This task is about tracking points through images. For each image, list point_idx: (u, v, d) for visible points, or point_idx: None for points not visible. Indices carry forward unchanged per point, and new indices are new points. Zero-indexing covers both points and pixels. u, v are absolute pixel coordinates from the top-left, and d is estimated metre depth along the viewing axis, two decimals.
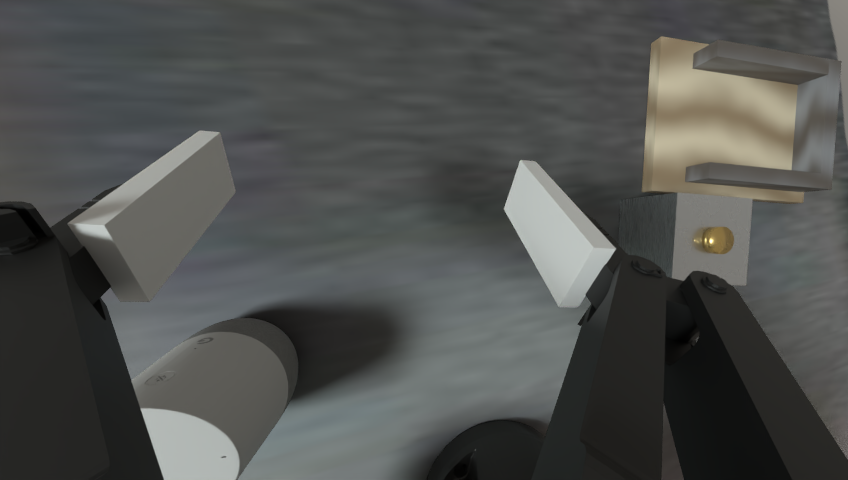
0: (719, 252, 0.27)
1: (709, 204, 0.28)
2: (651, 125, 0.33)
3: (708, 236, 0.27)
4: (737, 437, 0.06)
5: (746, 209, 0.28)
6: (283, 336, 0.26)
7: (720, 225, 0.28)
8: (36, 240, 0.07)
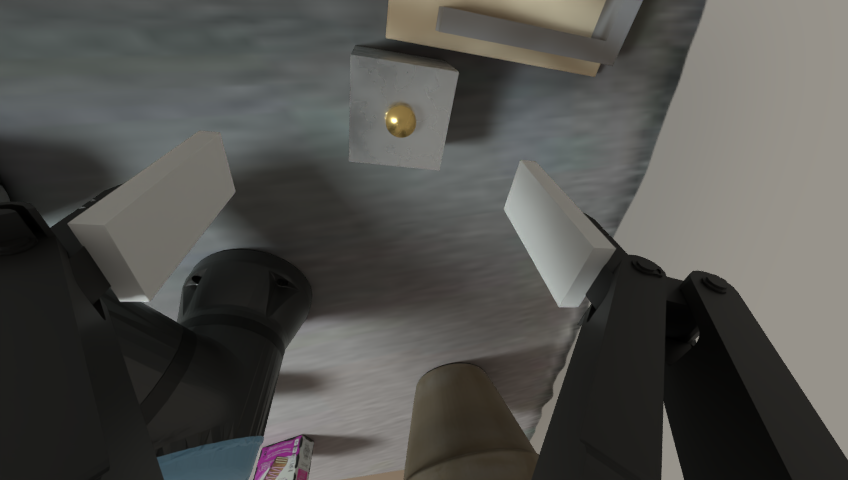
0: (396, 135, 0.25)
1: (397, 74, 0.23)
2: None
3: (386, 115, 0.24)
4: (737, 437, 0.06)
5: (448, 85, 0.24)
6: None
7: (410, 102, 0.24)
8: (36, 240, 0.07)
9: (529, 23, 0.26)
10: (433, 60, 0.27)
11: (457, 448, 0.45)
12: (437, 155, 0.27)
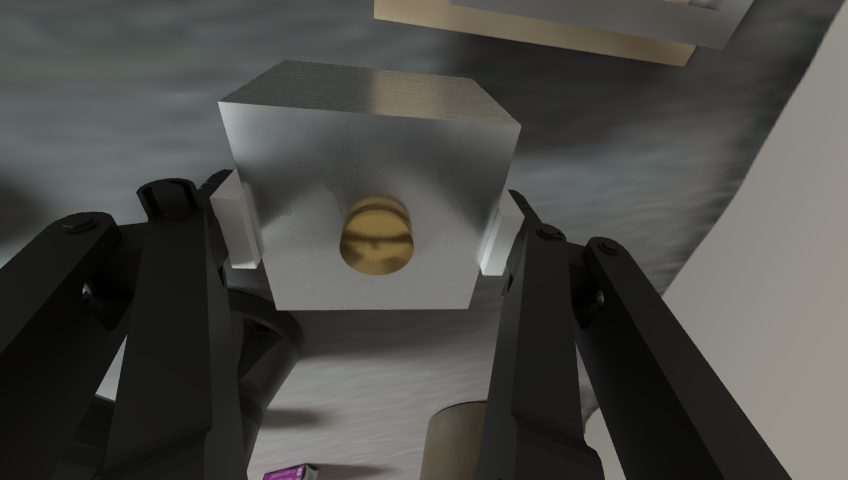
0: (369, 272, 0.11)
1: (358, 143, 0.09)
2: None
3: (341, 235, 0.10)
4: (646, 390, 0.07)
5: (493, 159, 0.09)
6: None
7: (399, 200, 0.10)
8: (191, 212, 0.08)
9: None
10: (450, 84, 0.12)
11: None
12: (464, 287, 0.13)
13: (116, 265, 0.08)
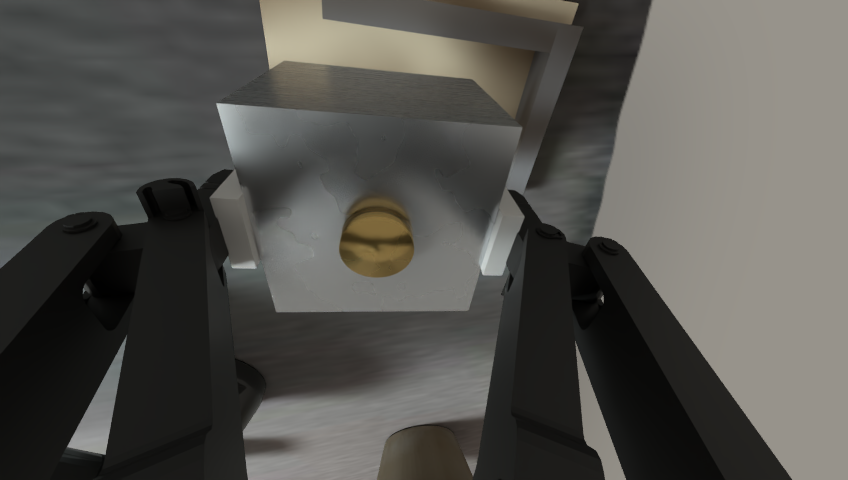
0: (369, 274, 0.11)
1: (358, 144, 0.09)
2: None
3: (341, 237, 0.10)
4: (646, 390, 0.07)
5: (494, 160, 0.09)
6: None
7: (399, 202, 0.10)
8: (191, 212, 0.08)
9: None
10: (451, 84, 0.12)
11: None
12: (464, 289, 0.13)
13: (116, 265, 0.08)
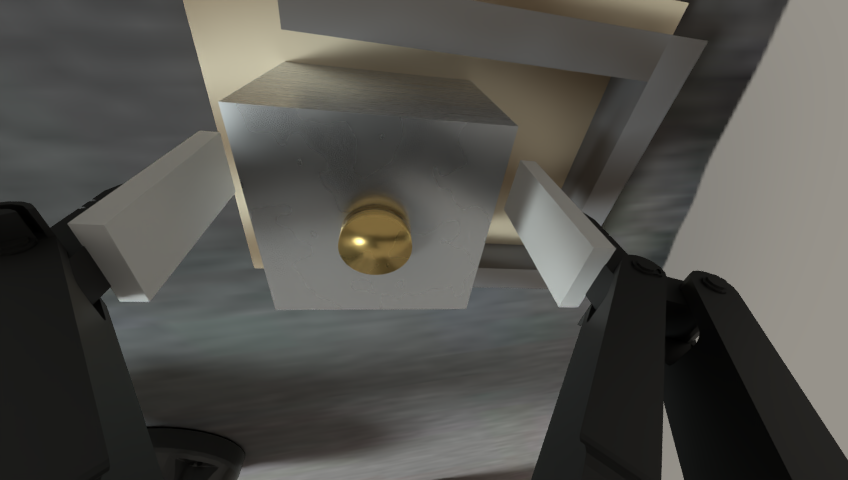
0: (367, 272, 0.11)
1: (357, 143, 0.09)
2: None
3: (340, 235, 0.10)
4: (737, 437, 0.06)
5: (490, 159, 0.09)
6: None
7: (397, 200, 0.10)
8: (36, 240, 0.07)
9: None
10: (448, 85, 0.13)
11: None
12: (462, 287, 0.13)
13: None
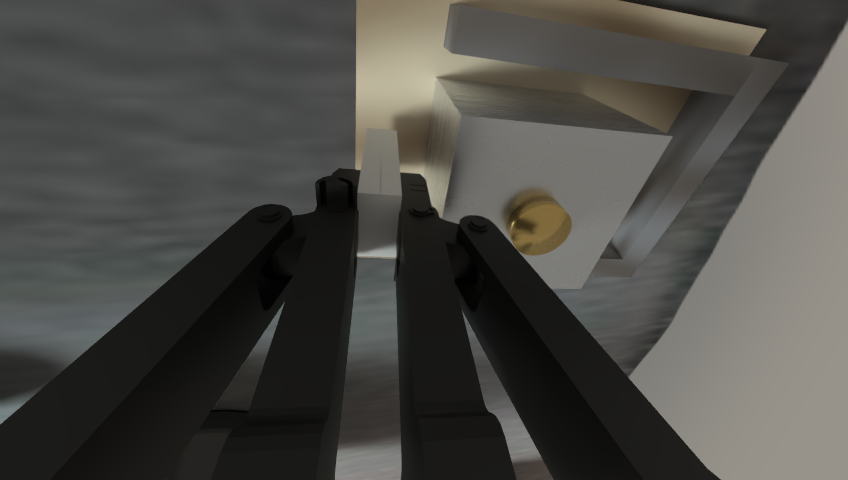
0: (527, 253, 0.13)
1: (549, 147, 0.11)
2: None
3: (515, 221, 0.12)
4: (535, 363, 0.07)
5: (643, 161, 0.12)
6: None
7: (561, 194, 0.12)
8: (347, 207, 0.09)
9: None
10: (577, 99, 0.15)
11: None
12: (584, 269, 0.15)
13: (293, 250, 0.09)
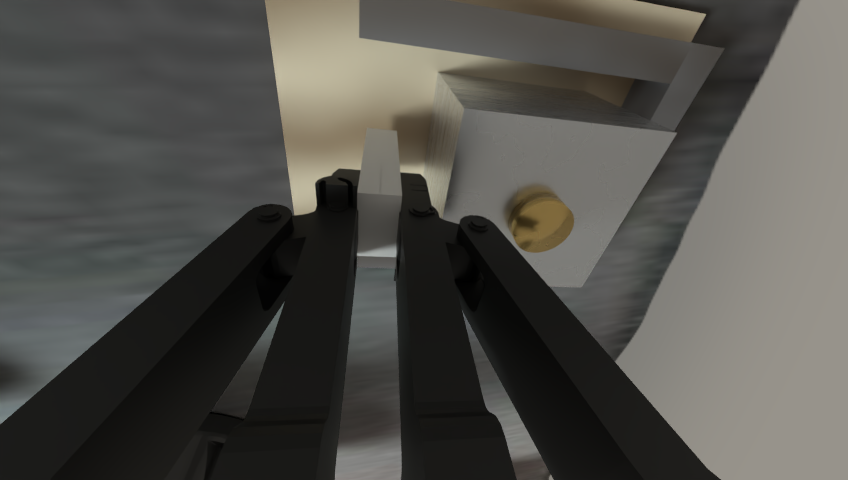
0: (529, 250, 0.13)
1: (552, 142, 0.11)
2: None
3: (517, 218, 0.12)
4: (535, 363, 0.07)
5: (647, 158, 0.12)
6: None
7: (563, 190, 0.12)
8: (347, 207, 0.09)
9: None
10: (579, 96, 0.15)
11: None
12: (585, 267, 0.15)
13: (293, 250, 0.09)
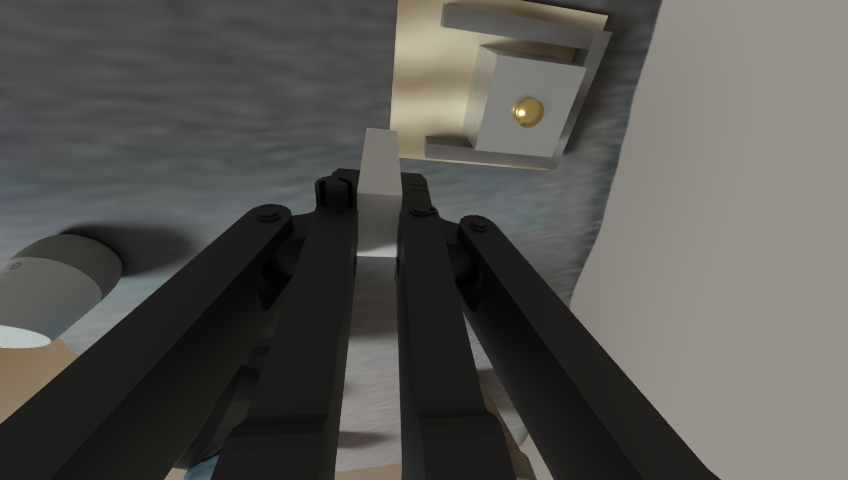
0: (524, 126, 0.28)
1: (533, 71, 0.26)
2: (392, 91, 0.32)
3: (518, 108, 0.27)
4: (535, 363, 0.07)
5: (575, 80, 0.27)
6: (91, 250, 0.38)
7: (539, 96, 0.27)
8: (347, 207, 0.09)
9: None
10: (549, 57, 0.30)
11: None
12: (552, 143, 0.30)
13: (293, 249, 0.09)
